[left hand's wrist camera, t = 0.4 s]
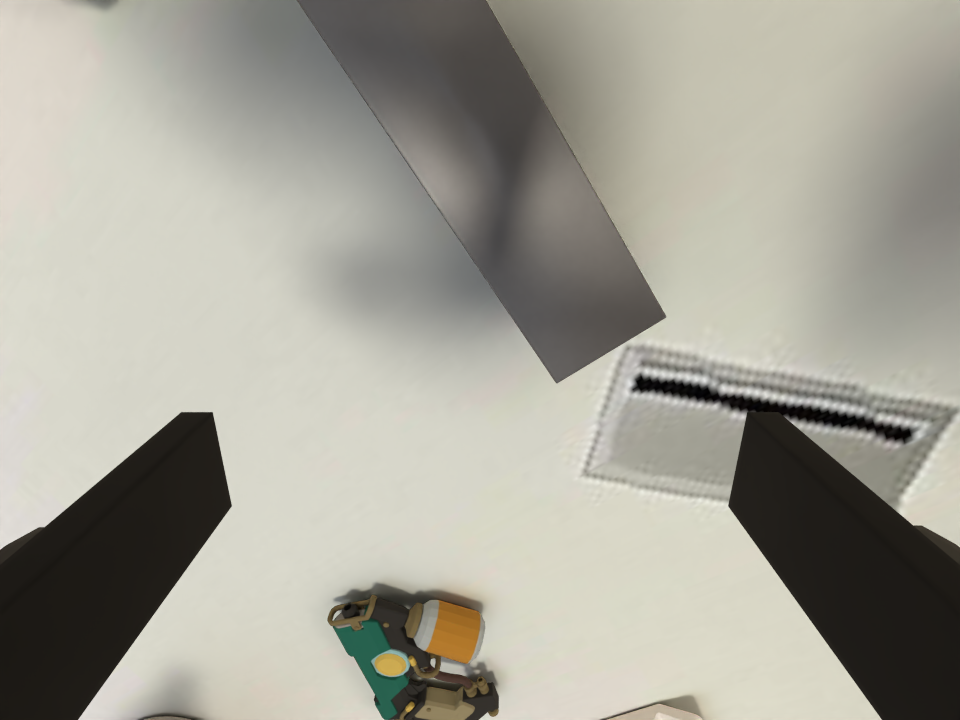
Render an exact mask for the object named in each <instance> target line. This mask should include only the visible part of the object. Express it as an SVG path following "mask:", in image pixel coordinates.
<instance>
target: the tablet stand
mask: <svg viewBox="0 0 960 720" xmlns="http://www.w3.org/2000/svg"><path fill="white" fill-rule="evenodd" d="M607 720H703V719H702V718H701V717H699V716H698V715H696V714H693V713H690V712H686V711H683V710H680V709H676V708H673V707H669V706H666V705H662V704H656V705H653V706H650V707H646V708H643V709H640V710H637V711H633V712H630V713H627V714H624V715H620V716H617V717H614V718H611V719H607Z"/></svg>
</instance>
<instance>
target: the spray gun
mask: <svg viewBox="0 0 960 720" xmlns="http://www.w3.org/2000/svg"><path fill="white" fill-rule="evenodd" d="M368 604H369V605H368ZM363 605H367V606H366V608H364V606H363ZM342 609H343V610H342ZM338 610H342V613H341V614H339V615H338V616H337V617H336V618H335V620H334V621H332V619H333V616H334V614H335V613H336V612H337V611H338ZM328 622H329V624H330V625H331V626H333V628H334V630H335V632H336V634H337V635H338V637H339V639H340V641H341V643H342V645H343V646H344V648H345V650H346V652H347V653H348V655H350V656H354V658H355V660H356V662H357V663H358V665H359V667H360V669H361V671H362V672H363V674H364V676H365V678H366V679H367V681H368V683H369V684H370V686H371V688H372V690H373V692H374V693H375V698H374V701H375V705H376V707H377V709H378V711H379V712H380V714H381V716H382V718H383V719H385V720H479V719H480V718H481V717H482V716H483V715H485V714H486V713H487V712H488V713H489V715H490V716H492V717H494V716H496V715H497V714H498V711H499V710H498V708H499V696H498V694H497V691H496V689H495V686H494V684H493V682H491V683H487V682H486V680H485V678H484V677H483V676H480V677H478V679H477V682H473V681H472V680H471V679H468V678H467V677H465V676H462V675H457V674H450V673H445V672H441V671H439V669H440V665H441V656H442V657H446V658H449V659H452V660H455V661H458V662H462V663H465V664H468V663H470V662H471V661H473V660H474V659H475V658H476V657H477V655H478V653H479V651H480V649H481V645H482V642H483V637H484V632H485V622H484V620H483V618H482V615H481V614H480V612H479V611H475V610H472V609H468V608H465V607H461V606H458V605H454V604H451V603H447V602H444V601H440V600H430V601H428V602H426V603H425V604H423V605H422V603H416V604H415V605H414V606H413V607H412V608H411V609H410V610H409V609H407V608H405V607H403V606H400V605H397V604H395V603H392V602H389V601H386V600H384V599H381V598H377V596H375V595H371V597H370V599H368V600H363V601H357V602H352V603H347V604H341V605H337V606H335V607H334V608H332V609H331V611H330V613H329V616H328ZM404 625H405V626H404ZM428 652H429V654H428ZM432 658H436V664H435V669H434V668H433V667H432V666H431V665H430V661H431V659H432ZM420 668H423V669H424V670H425V671H426V672H423V671H421V670H420ZM414 672H416V674H417V675H418V676H419V677H422V678H433V677H434V678H436V679H438V680H442V681H446V682H452V683H459V684H463V687H461V688H460V689H459V690H458V691H456V692H455V691H450V690H445V689H440V688H435V687H427V684H426V681H423V682H419V683H418V682H415V681H413V680H411V679H409V677H410V675H412V674H413V673H414Z"/></svg>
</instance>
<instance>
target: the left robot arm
mask: <svg viewBox="0 0 960 720" xmlns="http://www.w3.org/2000/svg"><path fill="white" fill-rule="evenodd" d="M231 506H232V505H231V500H230V495H229V490H228V485H227V480H226V476H225V471H224V466H223V461H222V456H221V451H220V446H219V441H218V436H217V431H216V426H215V422H214V417H213V412H181V413H180V414H179V415H178V416H176V417H175V418H174V419H173V420H172V421H171V422H169V423H168V424H167V425H166V426H165V427H163V428H162V429H161V430H160V431H159V432H157V433H156V434H155V435H154V436H153V437H152V438H150V439H149V440H148V441H147V442H146V443H144V444H143V445H142V446H141V447H140V448H138V449H137V450H136V451H135V452H134V453H132V454H131V455H130V456H129V457H128V458H127V459H125V460H124V461H123V462H122V463H121V464H119V465H118V466H117V467H116V468H115V469H113V470H112V471H111V472H110V473H109V474H108V475H106V476H105V477H104V478H103V479H102V480H100V481H99V482H98V483H97V484H96V485H94V486H93V487H92V488H91V489H90V490H89V491H87V492H86V493H85V494H84V495H83V496H81V497H80V498H79V499H78V500H77V501H75V502H74V503H73V504H72V505H71V506H69V507H68V508H67V509H66V510H65V511H64V512H62V513H61V514H60V515H59V516H58V517H56V518H55V519H54V520H53V521H52V522H50V523H49V524H48V525H47V526H46V527H39V528H37V529H35V530H33V531H32V532H30V533H28V534H26V535H24V536H22V537H21V538H19V539H17V540H15V541H13V542H12V543H10V544H8V545H6V546H5V547H3V548H2V549H1V550H0V720H78V719H79V717H80V716H81V715H82V713H83V712H84V711H85V709H86V708H87V706H88V705H89V704H90V702H91V701H92V699H93V698H94V697H95V695H96V694H97V692H98V691H99V690H100V688H101V687H102V686H103V684H104V683H105V681H106V680H107V679H108V677H109V676H110V674H111V673H112V672H113V670H114V669H115V667H116V666H117V665H118V663H119V662H120V661H121V659H122V658H123V656H124V655H125V654H126V652H127V651H128V649H129V648H130V647H131V645H132V644H133V642H134V641H135V640H136V638H137V637H138V636H139V634H140V633H141V631H142V630H143V629H144V627H145V626H146V624H147V623H148V622H149V620H150V619H151V617H152V616H153V615H154V613H155V612H156V611H157V609H158V608H159V606H160V605H161V604H162V602H163V601H164V599H165V598H166V597H167V595H168V594H169V592H170V591H171V590H172V588H173V587H174V586H175V584H176V583H177V581H178V580H179V579H180V577H181V576H182V574H183V573H184V572H185V570H186V569H187V567H188V566H189V565H190V563H191V562H192V561H193V559H194V558H195V556H196V555H197V554H198V552H199V551H200V549H201V548H202V547H203V545H204V544H205V542H206V541H207V540H208V538H209V537H210V536H211V534H212V533H213V531H214V530H215V529H216V527H217V526H218V524H219V523H220V522H221V520H222V519H223V517H224V516H225V515H226V513H227V512H228V511H229V509H230V508H231ZM728 506H729V508H730V509H731V511H732V512H733V513H734V515H735V516H736V517H737V519H738V520H739V522H740V523H741V524H742V526H743V527H744V529H745V530H746V531H747V533H748V534H749V536H750V537H751V538H752V540H753V541H754V542H755V544H756V545H757V547H758V548H759V549H760V551H761V552H762V554H763V555H764V556H765V558H766V559H767V561H768V562H769V563H770V565H771V566H772V567H773V569H774V570H775V572H776V573H777V574H778V576H779V577H780V579H781V580H782V581H783V583H784V584H785V586H786V587H787V588H788V590H789V591H790V592H791V594H792V595H793V597H794V598H795V599H796V601H797V602H798V604H799V605H800V606H801V608H802V609H803V611H804V612H805V613H806V615H807V616H808V617H809V619H810V620H811V622H812V623H813V624H814V626H815V627H816V629H817V630H818V631H819V633H820V634H821V636H822V637H823V638H824V640H825V641H826V642H827V644H828V645H829V647H830V648H831V649H832V651H833V652H834V654H835V655H836V656H837V658H838V659H839V661H840V662H841V663H842V665H843V666H844V667H845V669H846V670H847V672H848V673H849V674H850V676H851V677H852V679H853V680H854V681H855V683H856V684H857V686H858V687H859V688H860V690H861V691H862V692H863V694H864V695H865V697H866V698H867V699H868V701H869V702H870V704H871V705H872V706H873V708H874V709H875V711H876V712H877V713H878V715H879V716H880V717H881V719H882V720H960V547H958V546H957V545H956V544H954V543H952V542H951V541H949V540H947V539H945V538H943V537H942V536H940V535H938V534H936V533H934V532H932V531H931V530H929V529H927V528H925V527H923V526H913V525H912V524H911V523H910V522H908V521H907V520H906V519H905V518H904V517H902V516H901V515H900V514H899V513H898V512H896V511H895V510H894V509H893V508H892V507H891V506H889V505H888V504H887V503H886V502H885V501H883V500H882V499H881V498H880V497H879V496H877V495H876V494H875V493H874V492H873V491H871V490H870V489H869V488H868V487H867V486H866V485H864V484H863V483H862V482H861V481H860V480H858V479H857V478H856V477H855V476H854V475H852V474H851V473H850V472H849V471H848V470H847V469H845V468H844V467H843V466H842V465H841V464H839V463H838V462H837V461H836V460H835V459H833V458H832V457H831V456H830V455H829V454H828V453H826V452H825V451H824V450H823V449H822V448H820V447H819V446H818V445H817V444H816V443H814V442H813V441H812V440H811V439H810V438H808V437H807V436H806V435H805V434H804V433H803V432H801V431H800V430H799V429H798V428H797V427H795V426H794V425H793V424H792V423H791V422H789V421H788V420H787V419H786V418H785V417H784V416H782V415H781V414H780V413H779V412H747V417H746V422H745V426H744V431H743V436H742V441H741V446H740V451H739V456H738V461H737V466H736V471H735V476H734V480H733V485H732V490H731V495H730V500H729V505H728Z"/></svg>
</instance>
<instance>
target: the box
mask: <svg viewBox="0 0 960 720" xmlns="http://www.w3.org/2000/svg"><path fill="white" fill-rule="evenodd" d="M297 1H298V3H299V4H300V6H301V7H302V9H303V10H304V12H305V13H306V14H307V16H308V17H309V19H310V20H311V22H312V23H313V25H314V26H315V28H316V29H317V31H318V32H319V34H320V35H321V37H322V38H323V40H324V41H325V43H326V44H327V45H328V47H329V48H330V50H331V51H332V53H333V54H334V56H335V57H336V59H337V60H338V62H339V63H340V65H341V66H342V68H343V69H344V71H345V72H346V74H347V75H348V76H349V78H350V79H351V81H352V82H353V84H354V85H355V87H356V88H357V90H358V91H359V93H360V94H361V96H362V97H363V99H364V100H365V102H366V103H367V105H368V106H369V107H370V109H371V110H372V112H373V113H374V115H375V116H376V118H377V119H378V121H379V122H380V124H381V125H382V127H383V128H384V130H385V131H386V133H387V134H388V136H389V137H390V139H391V140H392V141H393V143H394V144H395V146H396V147H397V149H398V150H399V152H400V153H401V155H402V156H403V158H404V159H405V161H406V162H407V164H408V165H409V167H410V168H411V170H412V171H413V172H414V174H415V175H416V177H417V178H418V180H419V181H420V183H421V184H422V186H423V187H424V189H425V190H426V192H427V193H428V195H429V196H430V198H431V199H432V201H433V202H434V203H435V205H436V206H437V208H438V209H439V211H440V212H441V214H442V215H443V217H444V218H445V220H446V221H447V223H448V224H449V226H450V227H451V229H452V230H453V232H454V233H455V234H456V236H457V237H458V239H459V240H460V242H461V243H462V245H463V246H464V248H465V249H466V251H467V252H468V254H469V255H470V257H471V258H472V260H473V261H474V263H475V264H476V265H477V267H478V268H479V270H480V271H481V273H482V274H483V276H484V277H485V279H486V280H487V282H488V283H489V285H490V286H491V288H492V289H493V291H494V292H495V294H496V295H497V296H498V298H499V299H500V301H501V302H502V304H503V305H504V307H505V308H506V310H507V311H508V313H509V314H510V316H511V317H512V319H513V320H514V322H515V323H516V325H517V326H518V327H519V329H520V330H521V332H522V333H523V335H524V336H525V338H526V339H527V341H528V342H529V344H530V345H531V347H532V348H533V350H534V351H535V353H536V354H537V356H538V357H539V358H540V360H541V361H542V363H543V364H544V366H545V367H546V369H547V370H548V372H549V373H550V375H551V376H552V378H553V379H554V381H555V382H556V383H558V382H560V381H562V380H563V379H565V378H567V377H568V376H570V375H572V374H573V373H575V372H577V371H578V370H580V369H582V368H583V367H585V366H587V365H588V364H590V363H592V362H593V361H595V360H596V359H598V358H600V357H601V356H603V355H605V354H606V353H608V352H610V351H611V350H613V349H615V348H616V347H618V346H620V345H621V344H623V343H625V342H626V341H628V340H630V339H631V338H633V337H635V336H636V335H638V334H640V333H641V332H643V331H644V330H646V329H648V328H649V327H651V326H653V325H654V324H656V323H658V322H659V321H661V320H663V319H664V318H666V315H665V313H664V312H663V310H662V308H661V306H660V305H659V303H658V301H657V299H656V298H655V296H654V294H653V292H652V291H651V289H650V287H649V285H648V284H647V282H646V280H645V278H644V277H643V275H642V273H641V271H640V270H639V268H638V266H637V264H636V263H635V261H634V259H633V257H632V256H631V254H630V252H629V250H628V249H627V247H626V245H625V243H624V242H623V240H622V238H621V236H620V235H619V233H618V231H617V229H616V228H615V226H614V224H613V222H612V220H611V219H610V217H609V215H608V213H607V212H606V210H605V208H604V206H603V205H602V203H601V201H600V199H599V198H598V196H597V194H596V192H595V191H594V189H593V187H592V185H591V184H590V182H589V180H588V178H587V177H586V175H585V173H584V171H583V170H582V168H581V166H580V164H579V163H578V161H577V159H576V157H575V156H574V154H573V152H572V150H571V149H570V147H569V145H568V143H567V142H566V140H565V138H564V136H563V135H562V133H561V131H560V129H559V128H558V126H557V124H556V122H555V121H554V119H553V117H552V115H551V114H550V112H549V110H548V108H547V107H546V105H545V103H544V101H543V100H542V98H541V96H540V94H539V93H538V91H537V89H536V87H535V85H534V84H533V82H532V80H531V78H530V77H529V75H528V73H527V71H526V70H525V68H524V66H523V64H522V63H521V61H520V59H519V57H518V56H517V54H516V52H515V50H514V49H513V47H512V45H511V43H510V42H509V40H508V38H507V36H506V35H505V33H504V31H503V29H502V28H501V26H500V24H499V22H498V21H497V19H496V17H495V15H494V14H493V12H492V10H491V8H490V7H489V5H488V3H487V1H486V0H297Z"/></svg>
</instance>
